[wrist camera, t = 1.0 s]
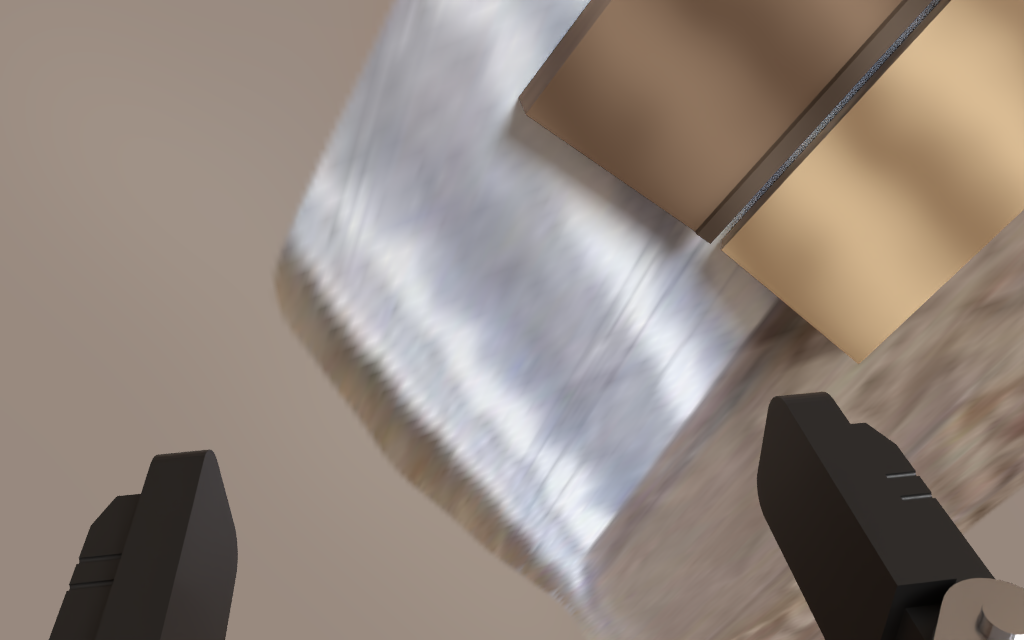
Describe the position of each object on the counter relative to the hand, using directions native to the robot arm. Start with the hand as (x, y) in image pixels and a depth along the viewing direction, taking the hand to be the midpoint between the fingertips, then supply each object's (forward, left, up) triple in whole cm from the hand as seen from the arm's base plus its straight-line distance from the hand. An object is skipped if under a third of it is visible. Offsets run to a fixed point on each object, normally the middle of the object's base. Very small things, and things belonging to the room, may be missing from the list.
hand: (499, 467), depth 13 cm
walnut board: (-8, +10, -25) cm, 28 cm away
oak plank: (-8, +20, -23) cm, 32 cm away
